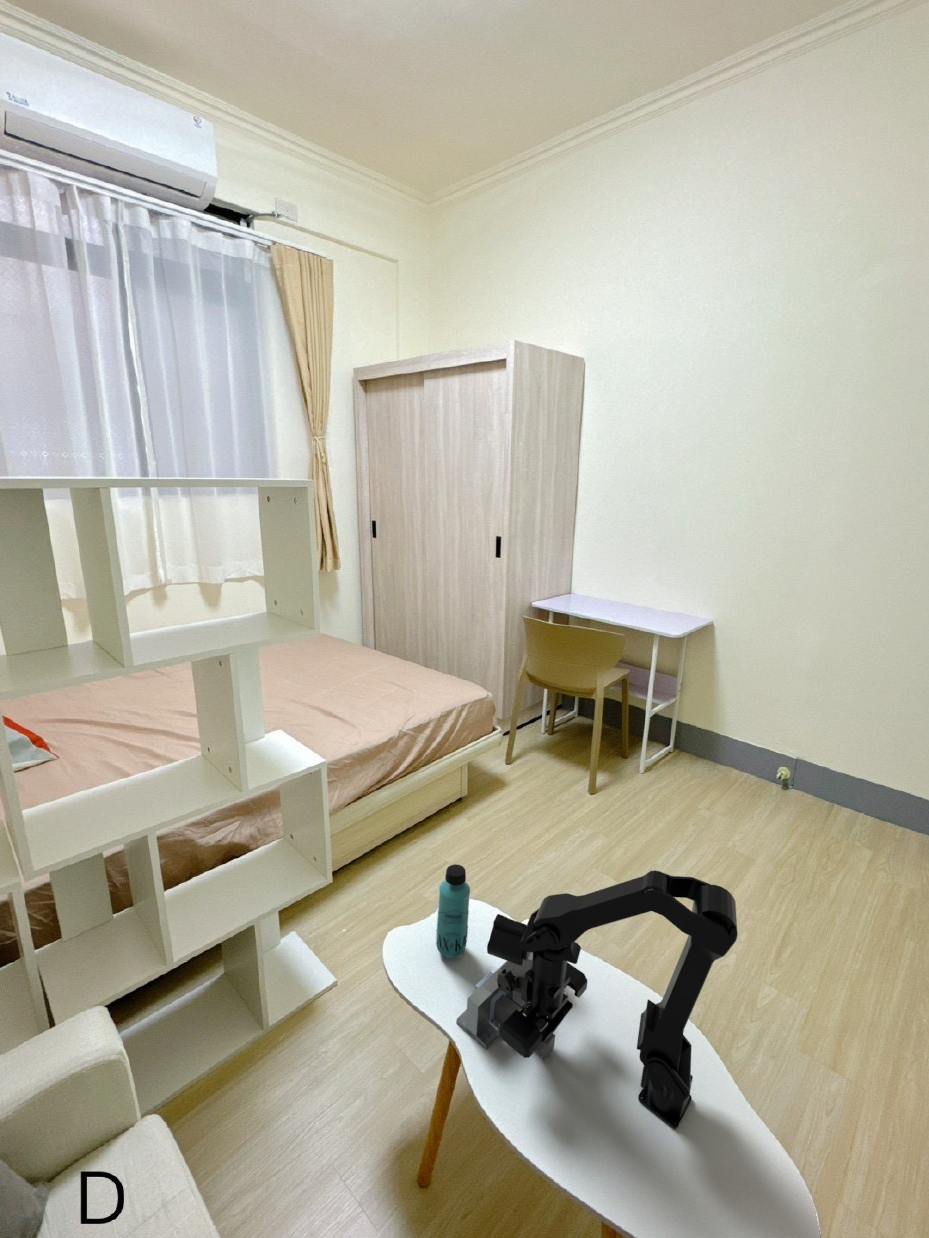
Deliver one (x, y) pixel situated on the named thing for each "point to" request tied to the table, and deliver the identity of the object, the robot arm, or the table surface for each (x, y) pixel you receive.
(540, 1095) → the table surface
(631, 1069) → the table surface
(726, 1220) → the table surface
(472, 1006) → the gray arch-shaped bracket
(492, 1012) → the plug
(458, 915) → the beverage bottle
